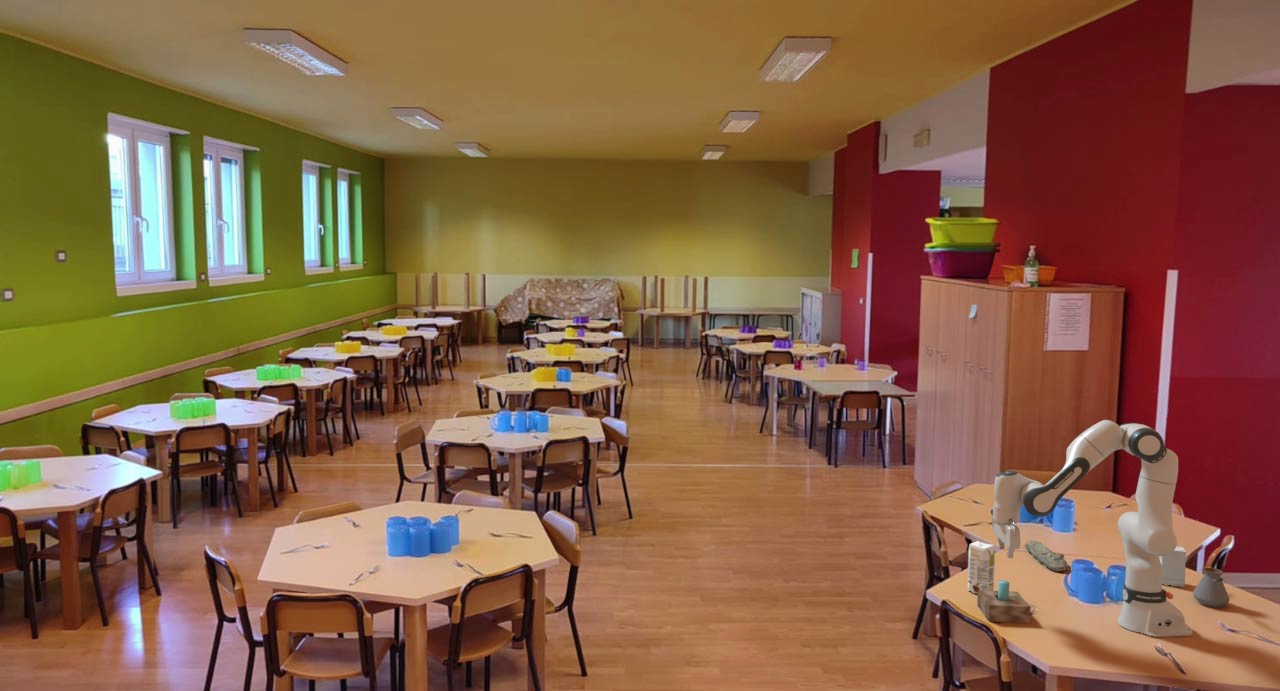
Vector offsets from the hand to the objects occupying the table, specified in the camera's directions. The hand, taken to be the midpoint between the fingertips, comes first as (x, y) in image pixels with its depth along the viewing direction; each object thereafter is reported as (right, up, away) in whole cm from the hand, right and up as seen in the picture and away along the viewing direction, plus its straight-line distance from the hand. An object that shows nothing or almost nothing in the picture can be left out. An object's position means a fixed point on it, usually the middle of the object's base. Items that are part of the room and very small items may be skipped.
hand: (1005, 553), depth 309 cm
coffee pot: (+80, -22, +7) cm, 83 cm away
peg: (0, -23, +2) cm, 23 cm away
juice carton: (0, -21, +23) cm, 31 cm away
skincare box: (+79, -20, +31) cm, 87 cm away
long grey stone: (+43, -18, +61) cm, 77 cm away
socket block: (0, -23, +2) cm, 23 cm away
